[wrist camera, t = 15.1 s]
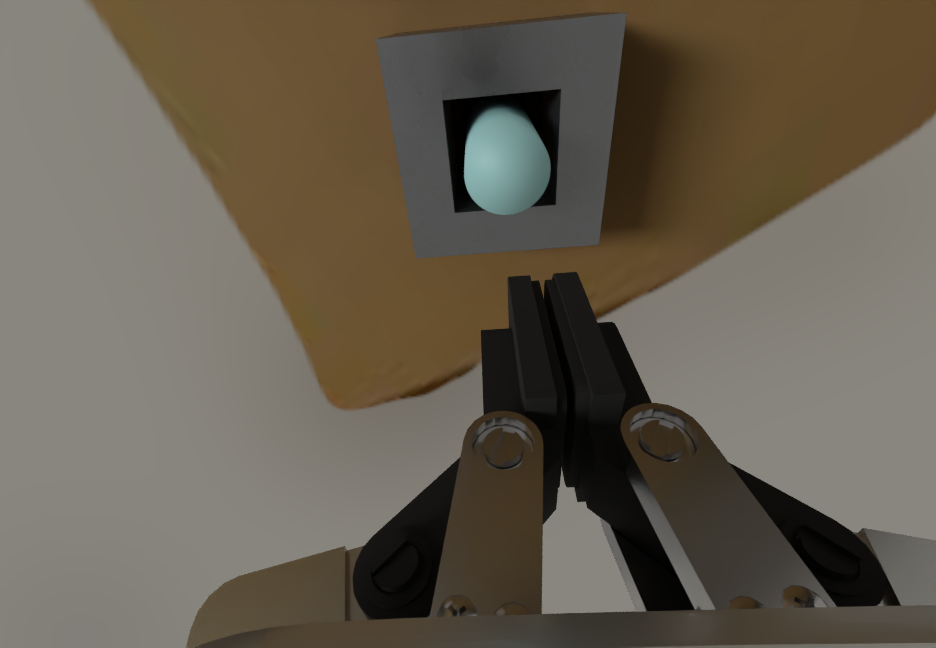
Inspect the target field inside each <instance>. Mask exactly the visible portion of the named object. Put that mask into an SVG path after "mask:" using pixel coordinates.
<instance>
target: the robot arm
mask: <svg viewBox="0 0 936 648" xmlns="http://www.w3.org/2000/svg"><path fill="white" fill-rule="evenodd" d="M508 310H509V329H494V330H481V347H482V376H483V406H484V415H483V416H481V417H480V418H478V419H477V420H475V421H474V422H473V423H472V425H471V426H470V427H469V428H468V430H467V432H466V435H465V437H464V441H463V447H462V452H461V457H460V458H459V459H458V460H457V461H456V462H454V463H453V464H452V465H451V466H450V467H449V468H448V469H447V470H446V471H444V472H443V473H442V474H441V475H440V476H439V477H438V478H437V479H436V480H434V481H433V482H432V484H430V485H429V486H428V487H427V488H426V489H425V490H423V491H422V492H421V493H420V494H419V495H418V496H417V497H416V498H415V499H413V500H412V501H411V502H410V503H409V504H408V505H407V506H406V507H405V508H404V509H402V510H401V511H400V512H399V513H398V514H397V515H396V516H395V517H394V518H392V519H391V520H390V521H389V522H388V523H387V524H386V525H385V526H384V527H383V528H381V529H380V530H379V531H378V532H377V533H376V534H375V535H374V536H373V537H372V538H371V539H370V540H369V541H368V543H366V545H365V546H362V547H358V548H355V549H351V550H348V551H347V549H346V547H345V546H344V547H340V548H337V549H333V550H330V551H326V552H323V553H319V554H315V555H312V556H309V557H305V558H301V559H298V560H294V561H291V562H287V563H284V564H280V565H277V566H273V567H270V568H266V569H263V570H259V571H255V572H252V573H248V574H245V575H241V576H238V577H236V578H234V579H232V580H230V581H228V582H225V583H224V584H223V585H222V586H220V587H219V588H218V589H217V590H216V591H214V592H213V593H212V594H211V595H210V596H209V597H208V599H207V600H206V601H205V603H204V604H203V605H202V607H201V608H200V609H199V611H198V613H197V615H196V618H195V620H194V622H193V625H192V627H191V630H190V634H189V638H188V642H187V646H186V648H936V540H929V539H923V538H918V537H912V536H907V535H901V534H895V533H889V532H883V531H878V530H872V529H866V528H862V529H861V530H860V531H859V532H858V533H855V532H852V531H850V530H849V529H847V528H846V527H844V526H843V525H841V524H839V523H838V522H837V521H835V520H833V519H832V518H830V517H828V516H826V515H824V514H822V513H821V512H819V511H817V510H815V509H813V508H811V507H810V506H808V505H806V504H804V503H802V502H800V501H798V500H797V499H795V498H793V497H791V496H789V495H788V494H786V493H784V492H782V491H780V490H778V489H777V488H775V487H773V486H771V485H769V484H767V483H765V482H764V481H762V480H760V479H758V478H756V477H754V476H753V475H751V474H749V473H747V472H745V471H744V470H741V469H740V468H738V467H736V466H734V465H732V464H730V463H729V462H728V461H727V460H726V458H725V457H724V456H723V454H722V453H721V452H720V450H719V449H718V448H717V446H716V445H715V444H714V442H713V441H712V440H711V438H710V437H709V436H708V434H707V433H706V432H705V430H704V429H703V428H702V427H701V426H700V425H699V423H698V422H697V421H696V420H695V419H694V418H693V417H691V416H690V415H688V414H686V413H685V412H683V411H682V410H679V409H677V408H674V407H672V406H669V405H664V404H658V403H652V402H651V400H650V398H649V396H648V394H647V391H646V389H645V387H644V385H643V383H642V381H641V379H640V376H639V374H638V372H637V370H636V368H635V366H634V363H633V361H632V359H631V357H630V355H629V353H628V351H627V348H626V346H625V344H624V342H623V339H622V337H621V335H620V333H619V331H618V329H617V327H616V325H615V324H614V323H613V322H604V323H597V321H596V318H595V316H594V313H593V311H592V308H591V306H590V303H589V301H588V298H587V296H586V293H585V291H584V288H583V286H582V283H581V281H580V279H579V276H578V274H577V272H570V273H556V274H553V277H552V280H545V284H544V299H543V295H542V291H541V287H540V283H539V281H531V278H530V275H528V276H514V277H508ZM561 466H562V471H563V476H564V481H565V485H566V487H574V488H575V492H576V497H577V501H578V502H583V501H584V502H585V501H586V504H587V508H588V509H590V510H591V511H592V512H594V513H595V514H596V515H598V516H599V517H600V518H601V523H602V528H603V531H604V533H605V536H606V538H607V541H608V543H609V546H610V548H611V551H612V553H613V555H614V558H615V560H616V563H617V565H618V568H619V570H620V573H621V575H622V578H623V580H624V582H625V585H626V587H627V590H628V592H629V595H630V597H631V600H632V602H633V604H634V607H635V609H636V612H606V613H605V612H604V613H565V614H542V535H543V529H542V528H543V524H544V523H545V521H546V520H547V519H548V518H549V517H550V516H551V514H552V513H553V512H554V511H555V510H556V503H557V493H558V488H559V486H560V476H561Z"/></svg>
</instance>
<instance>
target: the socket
mask: <svg viewBox="0 0 936 648" xmlns="http://www.w3.org/2000/svg"><path fill="white" fill-rule="evenodd" d="M626 14H627V13H583V14H573V15H564V16H555V17H545V18H536V19H526V20H517V21H508V22H498V23H489V24H479V25H470V26H461V27H451V28H442V29H432V30H423V31H414V32H404V33H396V34H392V35H389V36H385V37H382V38H378V39H376V43H377V49H378V54H379V59H380V65H381V70H382V76H383V81H384V87H385V92H386V98H387V103H388V109H389V114H390V119H391V125H392V130H393V136H394V141H395V147H396V152H397V158H398V163H399V169H400V174H401V180H402V185H403V190H404V196H405V201H406V207H407V212H408V218H409V223H410V229H411V234H412V240H413V245H414V250H415V256H416V258H425V257H439V256H452V255H466V254H480V253H493V252H507V251H520V250H534V249H547V248H561V247H574V246H588V245H599V240H600V231H601V223H602V215H603V206H604V198H605V190H606V181H607V173H608V164H609V156H610V148H611V139H612V131H613V123H614V114H615V106H616V98H617V89H618V81H619V73H620V64H621V56H622V48H623V39H624V31H625V23H626ZM534 91H542V117H541V141H542V142H543V144H544V146H545V148H546V150H547V152H548V155H549V158H550V166H551V171H550V178H549V182H548V185H547V187H546V189H545V191H544V193H543V194H542V196H541V197H540V198H539V200H538V201H537V202H536V203H534V204H533V205H532V206H531V207H529V208H528V209H526V210H524V211H522V212H519V213H516V214H510V215H499V214H494V213H491V212H488V211H486V210H485V209H483V208H481V207H480V206H479V205H478V204H477V203H476V202H475V201H474V200H473V199H472V198H471V196H470V194H469V192H468V190H467V188H466V184H465V179H464V176H461V177H458V175H457V165H456V155H455V145H454V135H453V125H452V115H451V105H450V100H451V99H461V98H472V97H482V96H493V95H503V94H514V93H524V92H534Z"/></svg>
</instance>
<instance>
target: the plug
mask: <svg viewBox="0 0 936 648" xmlns="http://www.w3.org/2000/svg"><path fill="white" fill-rule="evenodd" d="M550 171H551V166H550V158H549V155H548V152H547V150H546V148H545V146H544V144H543V142H542V141H541V139H540V137H539V135H538V133H537V131H536V130H535V128H534V126H533V124H532V122H531V120H530V119H529V117H528V115H527V113H526V111H525V109H524V108H523V106H522V105H521V104H520V102H519V101H517V100H516V99H515V98H513V97H511V96H509V95H506V94H503V95H493V96H486V97H484V98H482V99H481V100H479V101H478V102H477V103H476V104H475V105H474V106H473V108H472V109H471V111H470V113H469V116H468V118H467V123H466V140H465V163H464V179H465V184H466V188H467V190H468V192H469V194H470V196H471V198H472V199H473V200H474V201H475V202H476V203H477V204H478V205H479V206H480V207H481V208H483V209H485V210H486V211H488V212H491V213H494V214H499V215H510V214H516V213H519V212H522V211H524V210H526V209H528V208H529V207H531V206H532V205H533V204H534V203H536V202H537V201H538V200H539V198H540V197H541V196H542V194H543V193H544V191H545V189H546V187H547V185H548V182H549V178H550Z"/></svg>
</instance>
